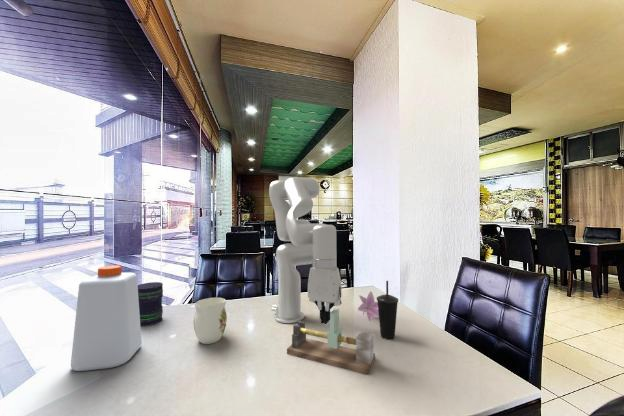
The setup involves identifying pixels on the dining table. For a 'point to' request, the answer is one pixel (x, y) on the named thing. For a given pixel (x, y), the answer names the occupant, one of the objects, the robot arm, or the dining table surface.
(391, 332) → the drinking cup
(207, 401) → the dining table surface
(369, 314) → the lily
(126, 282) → the plastic bottle
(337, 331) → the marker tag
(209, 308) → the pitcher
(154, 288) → the storage jar
